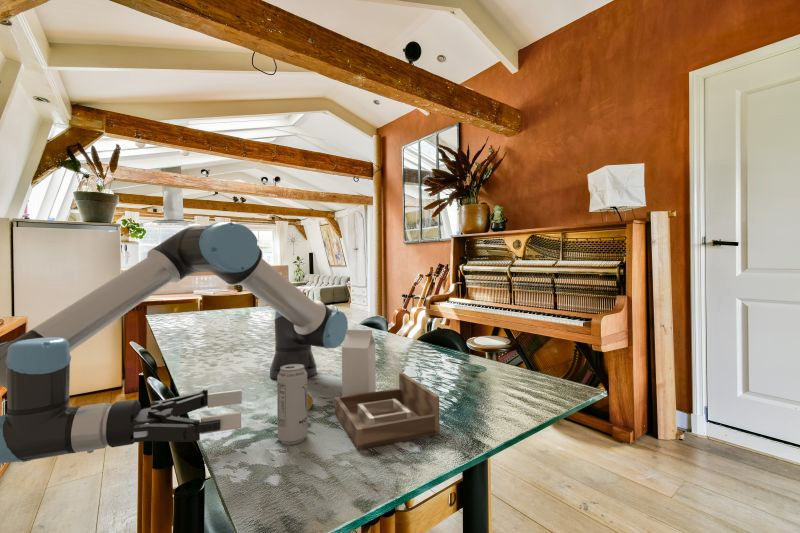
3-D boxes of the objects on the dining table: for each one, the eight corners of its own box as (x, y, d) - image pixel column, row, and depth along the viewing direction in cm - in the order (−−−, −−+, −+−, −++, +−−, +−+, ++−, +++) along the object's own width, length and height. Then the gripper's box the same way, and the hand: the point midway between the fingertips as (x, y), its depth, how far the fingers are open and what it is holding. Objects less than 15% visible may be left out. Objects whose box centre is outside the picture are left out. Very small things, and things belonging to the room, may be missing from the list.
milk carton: (368, 407, 96) (368, 332, 96) (342, 405, 97) (341, 331, 97) (375, 397, 103) (375, 328, 103) (351, 396, 104) (350, 327, 104)
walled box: (334, 413, 91) (334, 380, 91) (402, 403, 98) (402, 372, 98) (357, 450, 73) (357, 409, 73) (439, 434, 80) (439, 396, 80)
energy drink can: (307, 444, 76) (307, 369, 76) (276, 447, 74) (275, 371, 74) (307, 431, 82) (307, 362, 82) (278, 434, 80) (278, 364, 80)
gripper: (130, 420, 78) (242, 405, 86) (82, 483, 55) (241, 454, 63) (130, 383, 78) (241, 372, 86) (82, 431, 55) (240, 409, 63)
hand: (241, 407), depth 74 cm, fingers open, 13 cm apart
